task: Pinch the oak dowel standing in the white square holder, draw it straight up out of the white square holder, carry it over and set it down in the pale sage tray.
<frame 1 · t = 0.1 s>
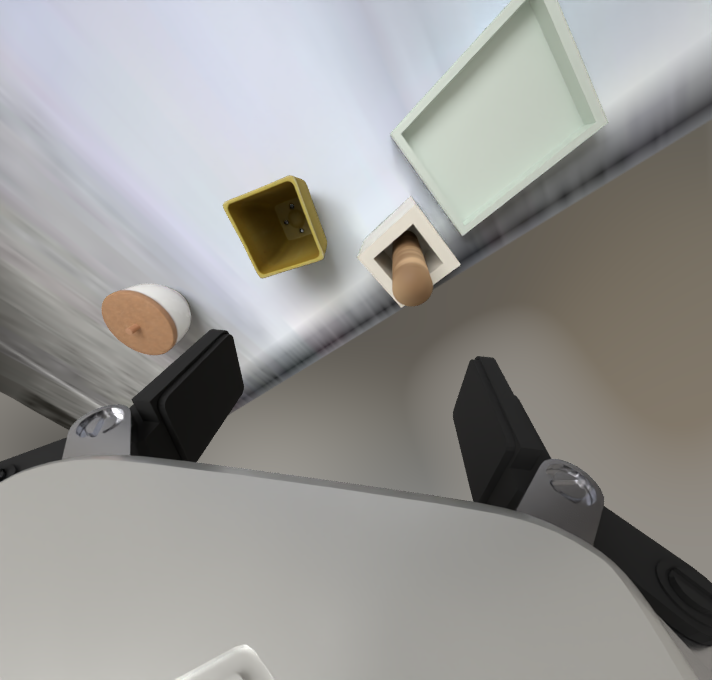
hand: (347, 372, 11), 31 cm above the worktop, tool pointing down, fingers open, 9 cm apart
flower pot: (298, 219, 38), on the worktop
tray: (486, 131, 31), on the worktop
dowel: (405, 243, 37), point 1 cm above the worktop, touching white square holder
white square holder: (405, 242, 38), on the worktop
lidded jar: (173, 303, 48), on the worktop
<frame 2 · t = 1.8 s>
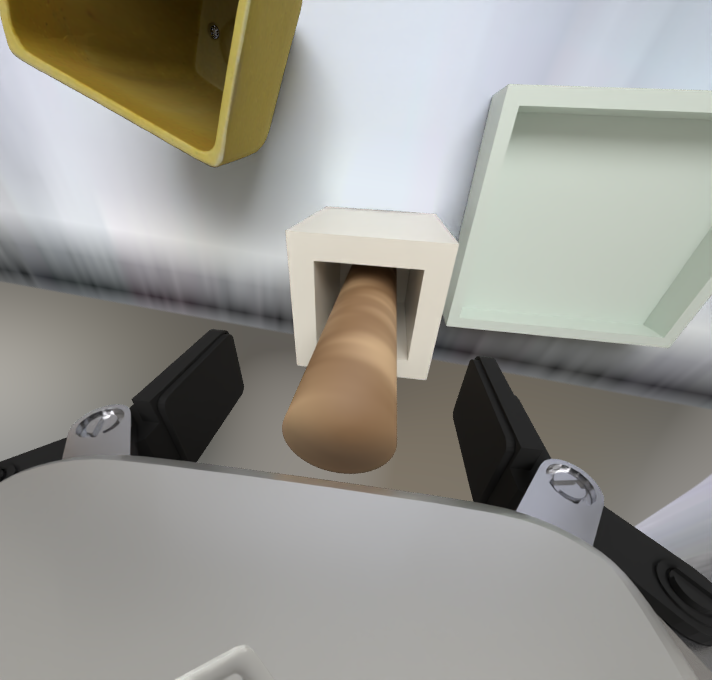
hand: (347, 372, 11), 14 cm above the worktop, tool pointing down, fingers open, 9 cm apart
flower pot: (244, 55, 17), on the worktop
tray: (578, 231, 19), on the worktop
dowel: (374, 268, 21), point 1 cm above the worktop, touching white square holder
white square holder: (375, 264, 22), on the worktop
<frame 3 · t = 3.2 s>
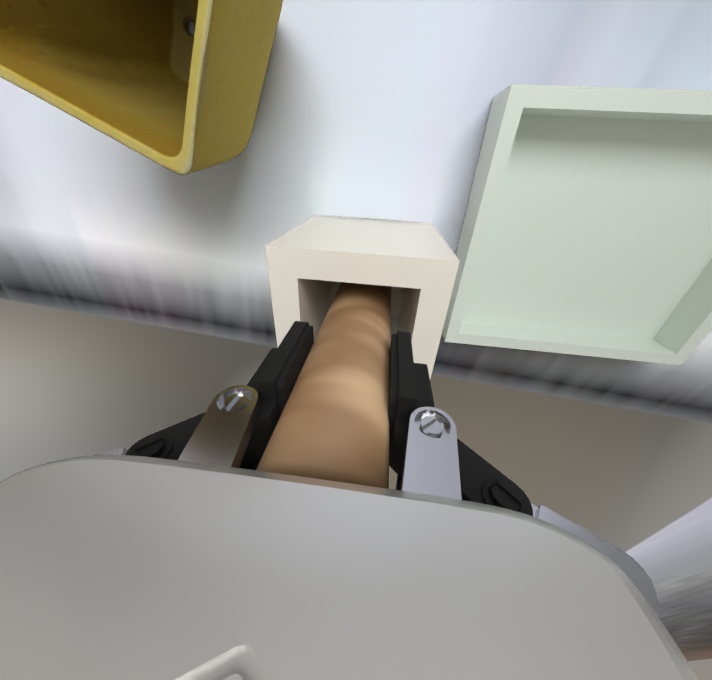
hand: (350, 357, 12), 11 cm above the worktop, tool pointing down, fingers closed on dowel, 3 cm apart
flower pot: (224, 52, 15), on the worktop
tray: (584, 241, 18), on the worktop
dowel: (367, 280, 20), point 1 cm above the worktop, touching white square holder, gripper
white square holder: (368, 275, 21), on the worktop
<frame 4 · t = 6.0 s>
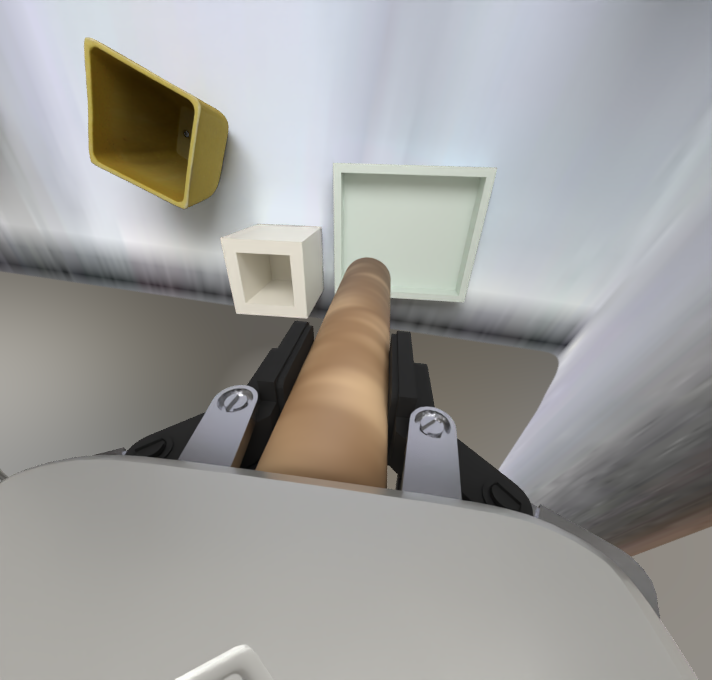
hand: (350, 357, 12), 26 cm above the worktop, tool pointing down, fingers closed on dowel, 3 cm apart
flower pot: (203, 143, 31), on the worktop
tray: (403, 234, 33), on the worktop
dowel: (367, 280, 20), point 16 cm above the worktop, touching gripper
white square holder: (292, 258, 36), on the worktop
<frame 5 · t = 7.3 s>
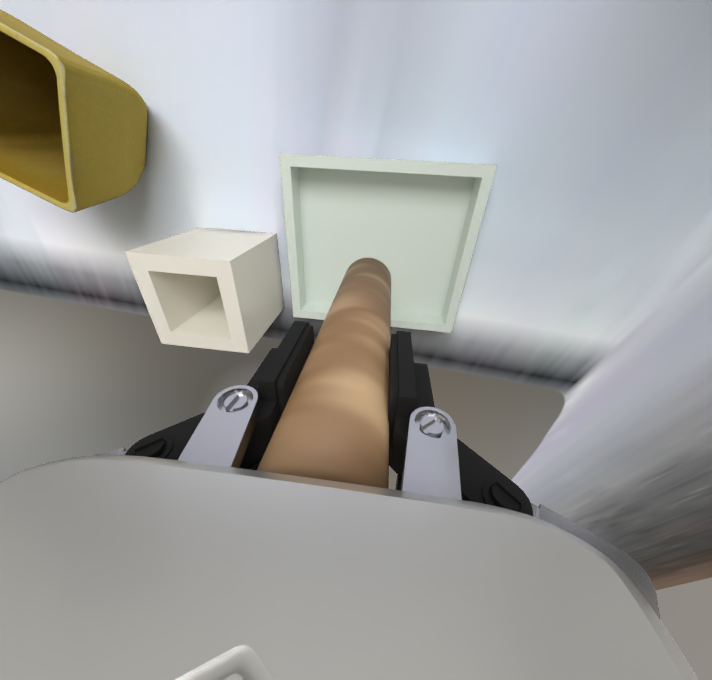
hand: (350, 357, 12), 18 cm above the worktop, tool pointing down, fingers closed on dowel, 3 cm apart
flower pot: (120, 124, 24), on the worktop
tray: (378, 246, 26), on the worktop
dowel: (367, 281, 20), point 8 cm above the worktop, touching gripper
white square holder: (244, 270, 29), on the worktop
when the fingers open (12 cm above the worktop, at t = 8.6 s): dowel drops 1 cm, resting on tray.
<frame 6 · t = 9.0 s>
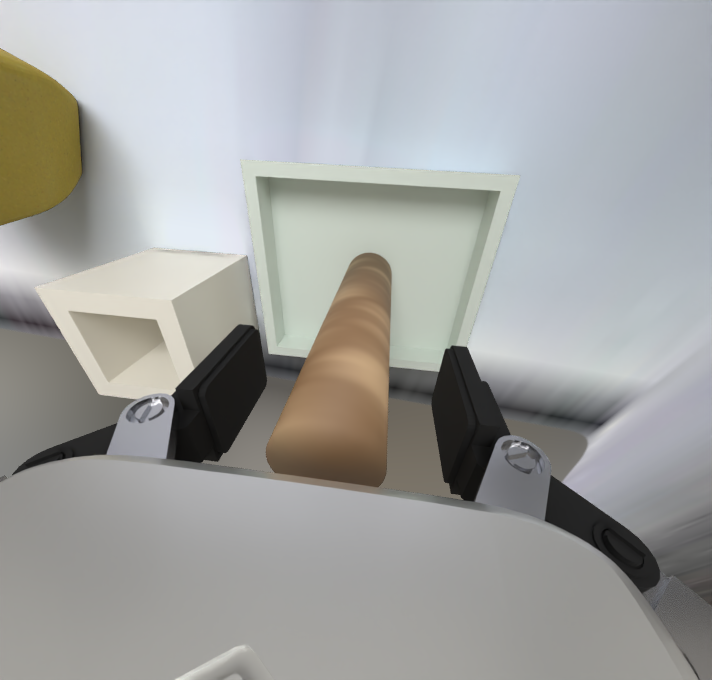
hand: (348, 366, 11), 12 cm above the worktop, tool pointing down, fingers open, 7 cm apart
flower pot: (48, 123, 19), on the worktop
tray: (369, 271, 22), on the worktop
dowel: (369, 275, 21), point 1 cm above the worktop, touching tray
white square holder: (210, 296, 25), on the worktop
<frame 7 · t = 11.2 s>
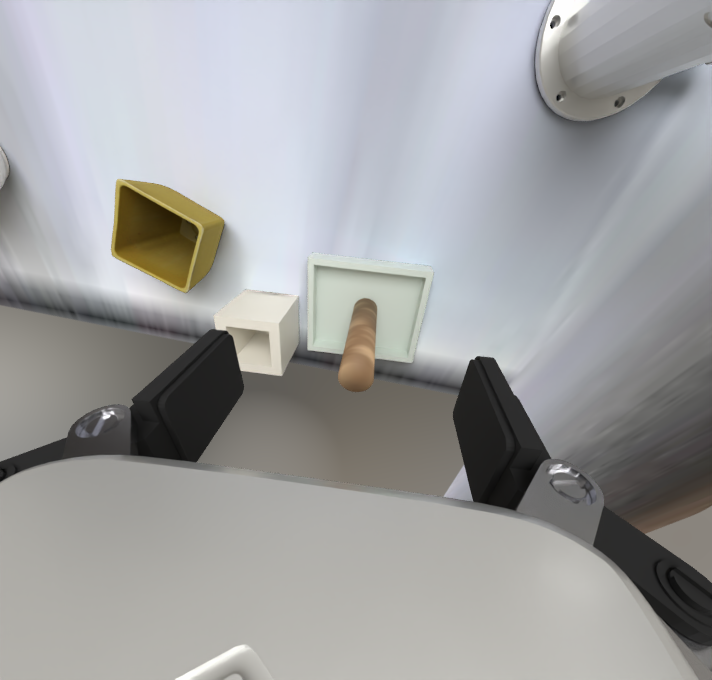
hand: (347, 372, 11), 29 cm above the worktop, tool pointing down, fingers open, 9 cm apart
flower pot: (203, 227, 37), on the worktop
tray: (365, 306, 41), on the worktop
dowel: (365, 309, 40), point 1 cm above the worktop, touching tray
white square holder: (273, 316, 43), on the worktop
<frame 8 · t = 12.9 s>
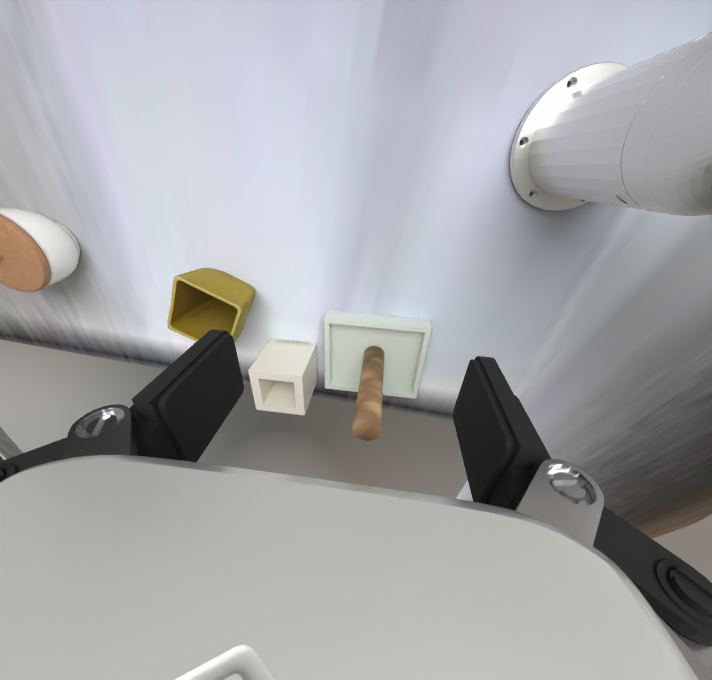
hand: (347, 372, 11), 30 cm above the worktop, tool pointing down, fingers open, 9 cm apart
flower pot: (235, 292, 44), on the worktop
tray: (374, 351, 47), on the worktop
dowel: (374, 354, 46), point 1 cm above the worktop, touching tray
white square holder: (295, 359, 50), on the worktop
lidded jar: (61, 240, 43), on the worktop
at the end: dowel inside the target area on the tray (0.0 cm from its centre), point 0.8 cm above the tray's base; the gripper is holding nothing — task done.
